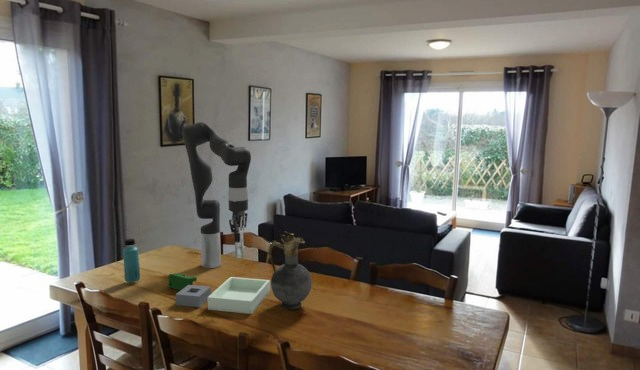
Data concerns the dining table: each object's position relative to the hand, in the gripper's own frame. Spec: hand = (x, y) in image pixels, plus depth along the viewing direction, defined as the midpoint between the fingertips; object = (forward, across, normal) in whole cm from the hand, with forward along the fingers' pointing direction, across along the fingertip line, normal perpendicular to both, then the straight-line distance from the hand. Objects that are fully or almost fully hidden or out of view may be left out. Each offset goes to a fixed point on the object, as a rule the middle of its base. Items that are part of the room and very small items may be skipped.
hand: (239, 240), depth 171 cm
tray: (+25, 0, 0) cm, 25 cm away
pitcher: (+25, 0, +20) cm, 32 cm away
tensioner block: (+25, +5, -18) cm, 31 cm away
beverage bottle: (+25, -7, -54) cm, 60 cm away
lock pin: (+7, 0, 0) cm, 7 cm away
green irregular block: (+25, -7, -29) cm, 39 cm away
